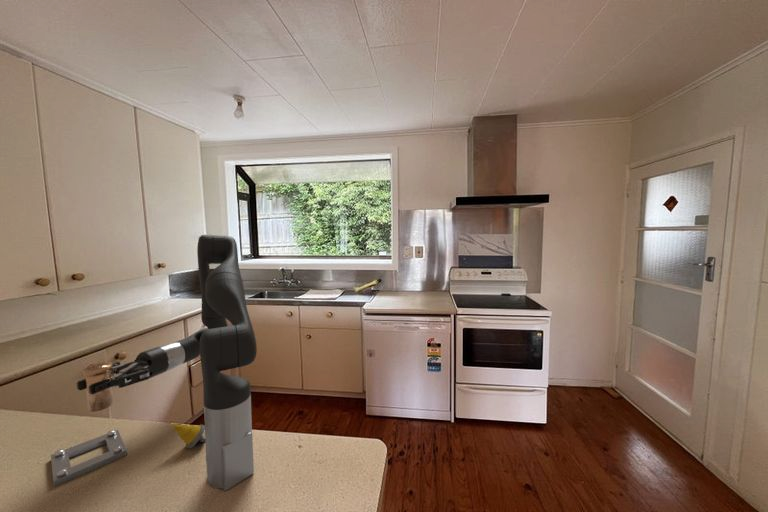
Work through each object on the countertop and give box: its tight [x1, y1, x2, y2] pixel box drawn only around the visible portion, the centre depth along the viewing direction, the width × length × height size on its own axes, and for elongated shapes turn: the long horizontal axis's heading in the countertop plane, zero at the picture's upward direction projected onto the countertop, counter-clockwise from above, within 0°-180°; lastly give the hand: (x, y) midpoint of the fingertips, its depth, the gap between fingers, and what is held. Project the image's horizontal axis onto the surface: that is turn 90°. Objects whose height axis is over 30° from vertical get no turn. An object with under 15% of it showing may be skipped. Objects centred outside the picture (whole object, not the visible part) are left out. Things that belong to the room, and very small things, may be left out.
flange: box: [50, 429, 128, 488], centre depth 71 cm, size 12×12×2 cm
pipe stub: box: [82, 361, 114, 413], centre depth 71 cm, size 5×5×10 cm
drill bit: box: [171, 424, 206, 450], centre depth 75 cm, size 5×5×10 cm
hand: (84, 388), depth 69 cm, fingers closed on pipe stub, 4 cm apart
